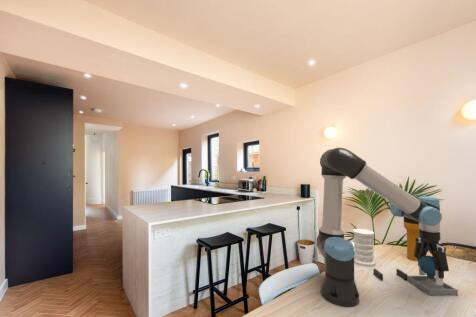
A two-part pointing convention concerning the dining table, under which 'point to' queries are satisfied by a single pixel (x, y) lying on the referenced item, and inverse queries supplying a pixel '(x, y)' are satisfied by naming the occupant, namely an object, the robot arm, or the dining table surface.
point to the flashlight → (411, 236)
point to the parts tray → (432, 286)
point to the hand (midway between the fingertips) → (430, 279)
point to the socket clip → (398, 272)
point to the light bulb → (428, 267)
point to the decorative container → (363, 247)
